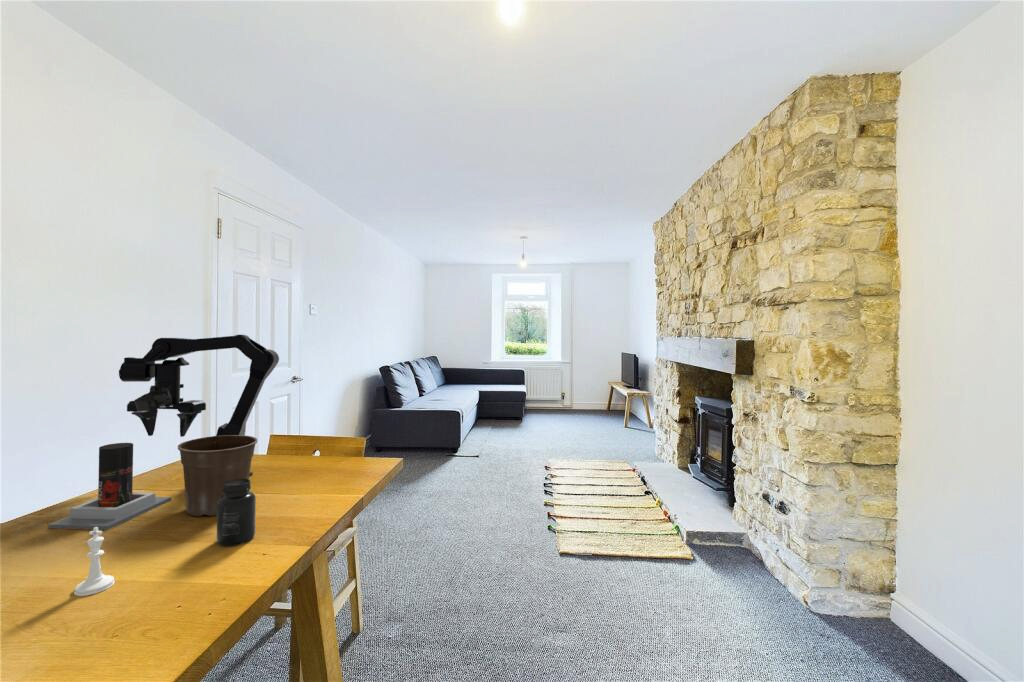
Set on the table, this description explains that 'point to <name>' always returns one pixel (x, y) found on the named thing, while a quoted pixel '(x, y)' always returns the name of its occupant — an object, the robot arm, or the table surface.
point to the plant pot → (213, 468)
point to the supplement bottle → (236, 513)
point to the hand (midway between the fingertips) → (166, 436)
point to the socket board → (108, 513)
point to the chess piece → (94, 569)
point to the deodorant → (115, 474)
